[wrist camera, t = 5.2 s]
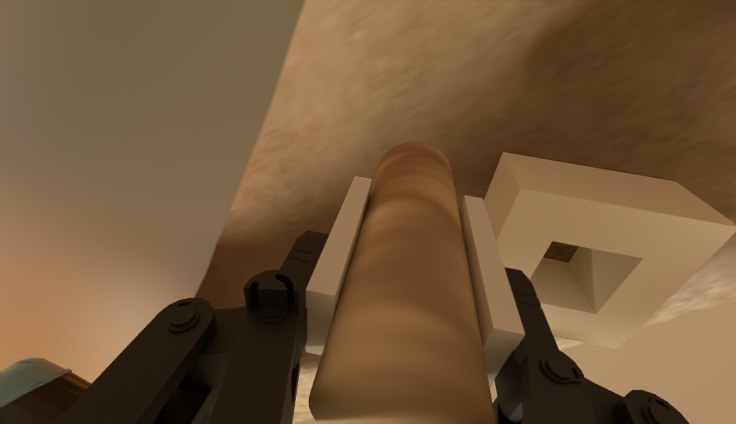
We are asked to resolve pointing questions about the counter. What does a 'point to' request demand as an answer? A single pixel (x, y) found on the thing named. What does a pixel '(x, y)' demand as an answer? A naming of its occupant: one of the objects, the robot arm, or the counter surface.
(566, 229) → the socket block
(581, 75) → the counter surface
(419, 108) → the counter surface
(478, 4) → the counter surface
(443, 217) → the dowel
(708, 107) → the counter surface
